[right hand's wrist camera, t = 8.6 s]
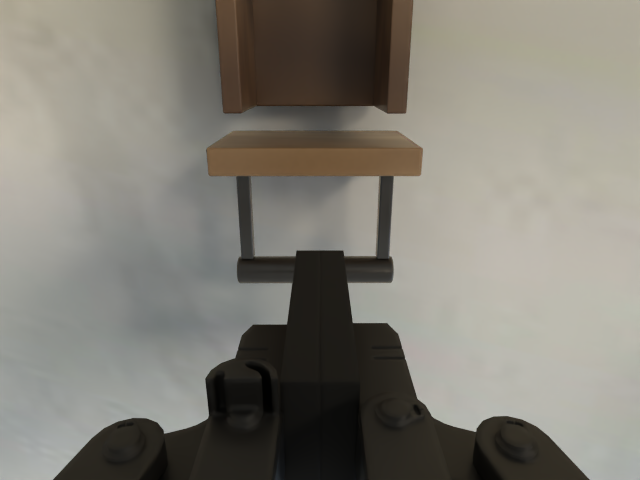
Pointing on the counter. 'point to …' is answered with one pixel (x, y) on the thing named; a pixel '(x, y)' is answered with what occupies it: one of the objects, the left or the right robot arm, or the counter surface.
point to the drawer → (314, 90)
